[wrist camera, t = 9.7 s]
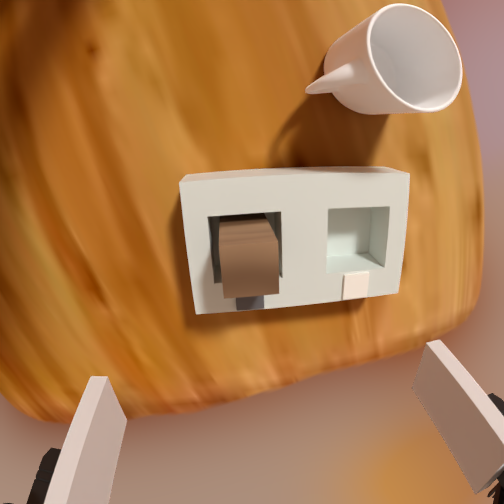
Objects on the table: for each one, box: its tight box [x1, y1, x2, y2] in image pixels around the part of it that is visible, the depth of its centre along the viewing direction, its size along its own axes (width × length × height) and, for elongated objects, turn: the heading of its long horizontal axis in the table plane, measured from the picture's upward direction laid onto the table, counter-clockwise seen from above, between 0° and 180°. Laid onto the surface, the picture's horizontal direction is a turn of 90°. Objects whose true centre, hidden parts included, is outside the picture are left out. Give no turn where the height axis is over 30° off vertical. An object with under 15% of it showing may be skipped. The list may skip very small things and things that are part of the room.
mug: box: [305, 4, 462, 115], centre depth 22 cm, size 9×12×11 cm
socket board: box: [179, 166, 410, 314], centre depth 30 cm, size 12×20×5 cm, turn 93°
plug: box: [219, 213, 279, 299], centre depth 27 cm, size 4×4×9 cm
